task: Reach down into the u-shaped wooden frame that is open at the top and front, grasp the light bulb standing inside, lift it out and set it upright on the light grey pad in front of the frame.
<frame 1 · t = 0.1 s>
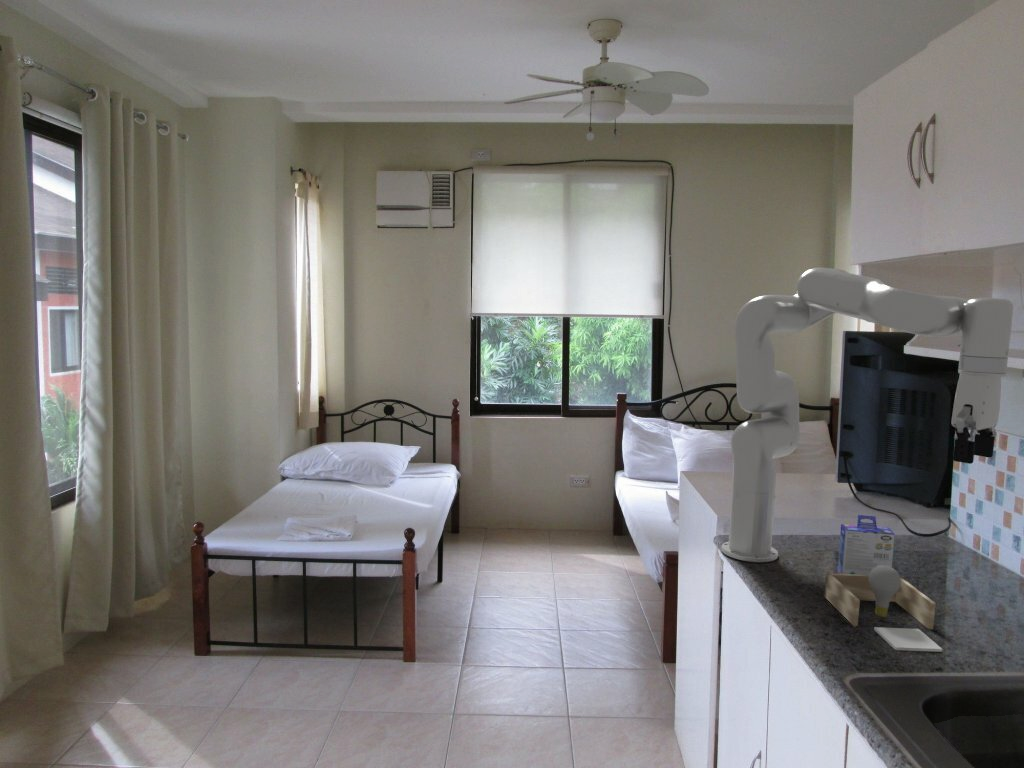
hand: (972, 459, 143), 31 cm above the worktop, tool pointing down, fingers open, 9 cm apart
grey pad: (907, 640, 137), on the worktop
light bulb: (880, 618, 147), on the worktop
u-shaped wooden frame: (876, 612, 149), on the worktop
ink cartridge box: (862, 585, 164), on the worktop
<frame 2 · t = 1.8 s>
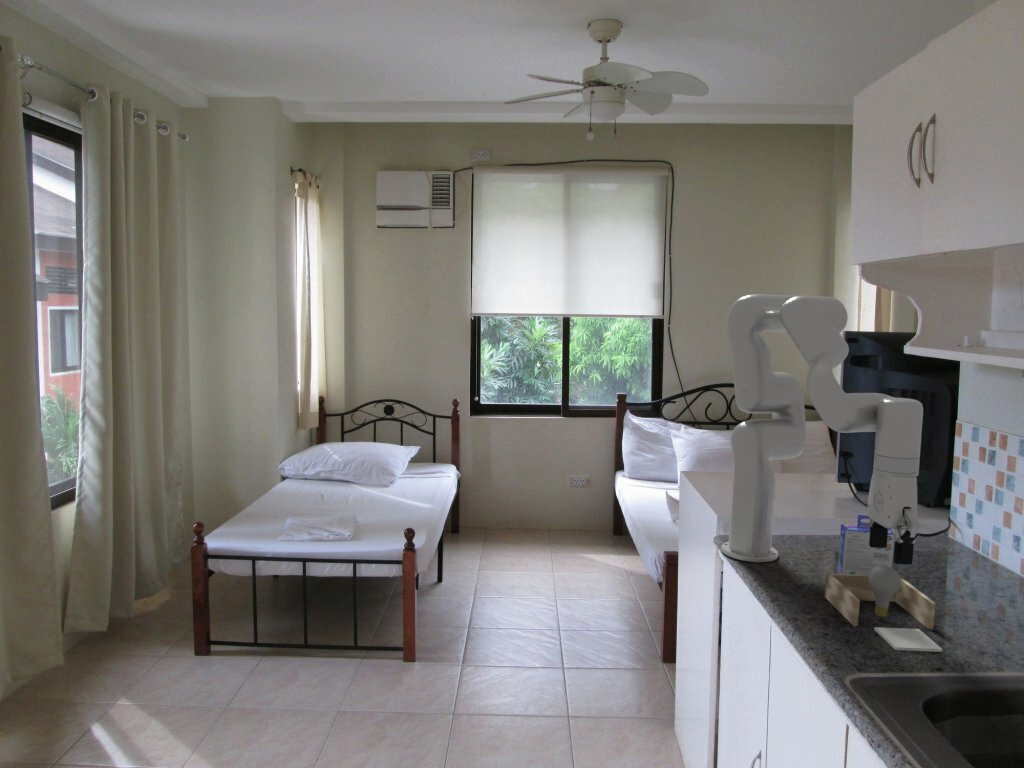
hand: (889, 555, 145), 12 cm above the worktop, tool pointing down, fingers open, 9 cm apart
nothing on the worktop moved.
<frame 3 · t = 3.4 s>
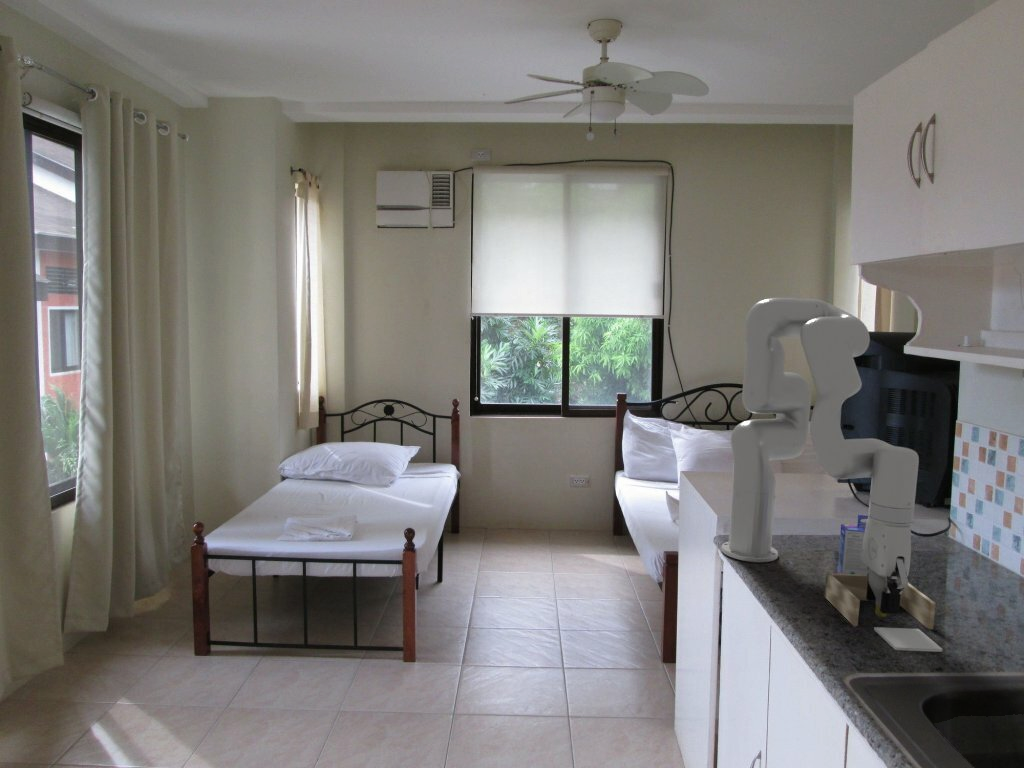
hand: (882, 605, 147), 2 cm above the worktop, tool pointing down, fingers closed on light bulb, 5 cm apart
light bulb: (880, 618, 147), on the worktop, touching gripper
everything else where it was.
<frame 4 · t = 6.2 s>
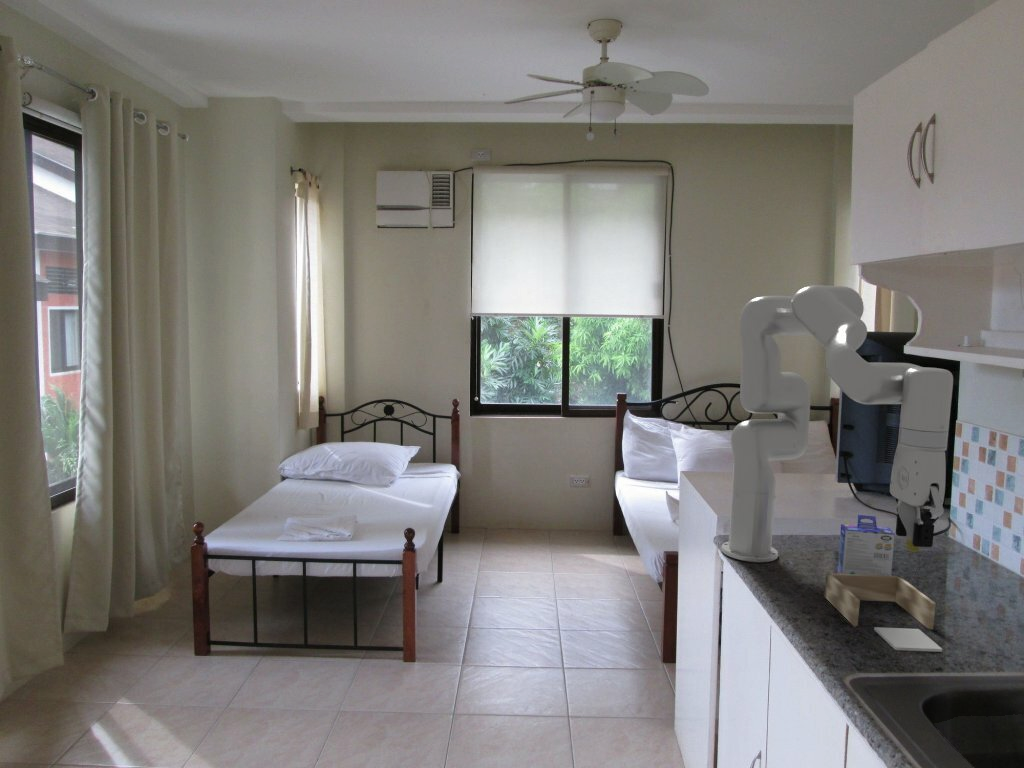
hand: (913, 539, 136), 18 cm above the worktop, tool pointing down, fingers closed on light bulb, 5 cm apart
light bulb: (912, 553, 137), point 15 cm above the worktop, touching gripper
everything else where it was.
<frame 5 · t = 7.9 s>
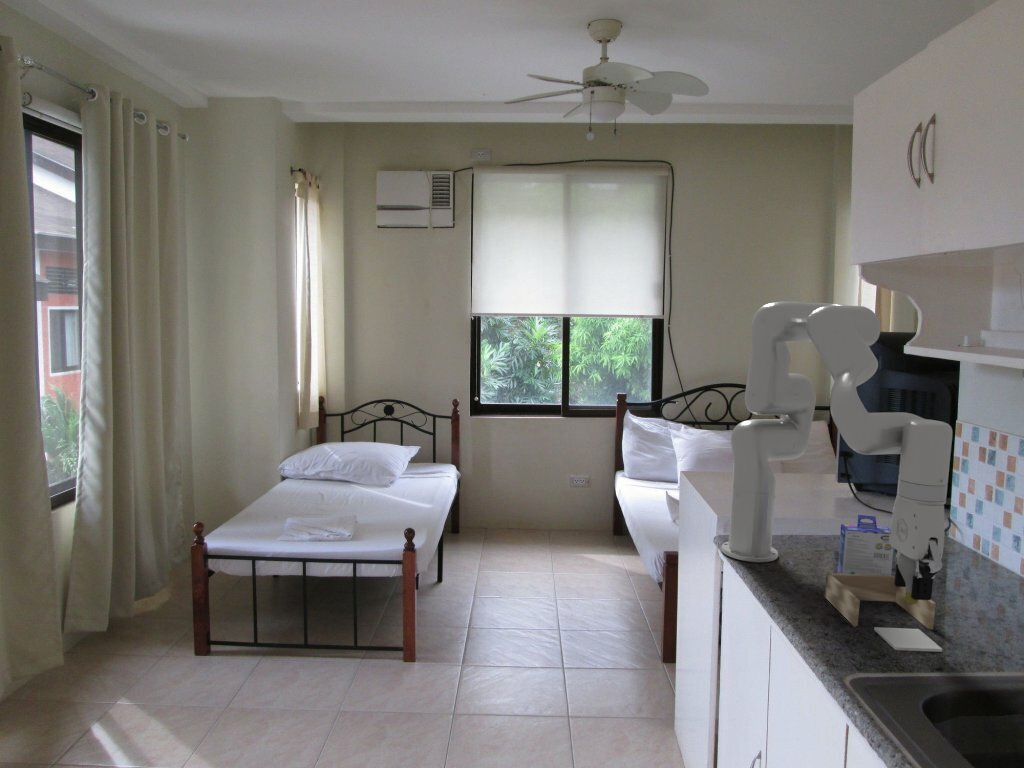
hand: (912, 591, 136), 9 cm above the worktop, tool pointing down, fingers closed on light bulb, 5 cm apart
light bulb: (911, 605, 136), point 7 cm above the worktop, touching gripper
everything else where it was.
when the fingers open (4 cm above the worktop, at t = 9.2 s): light bulb drops 1 cm, resting on grey pad.
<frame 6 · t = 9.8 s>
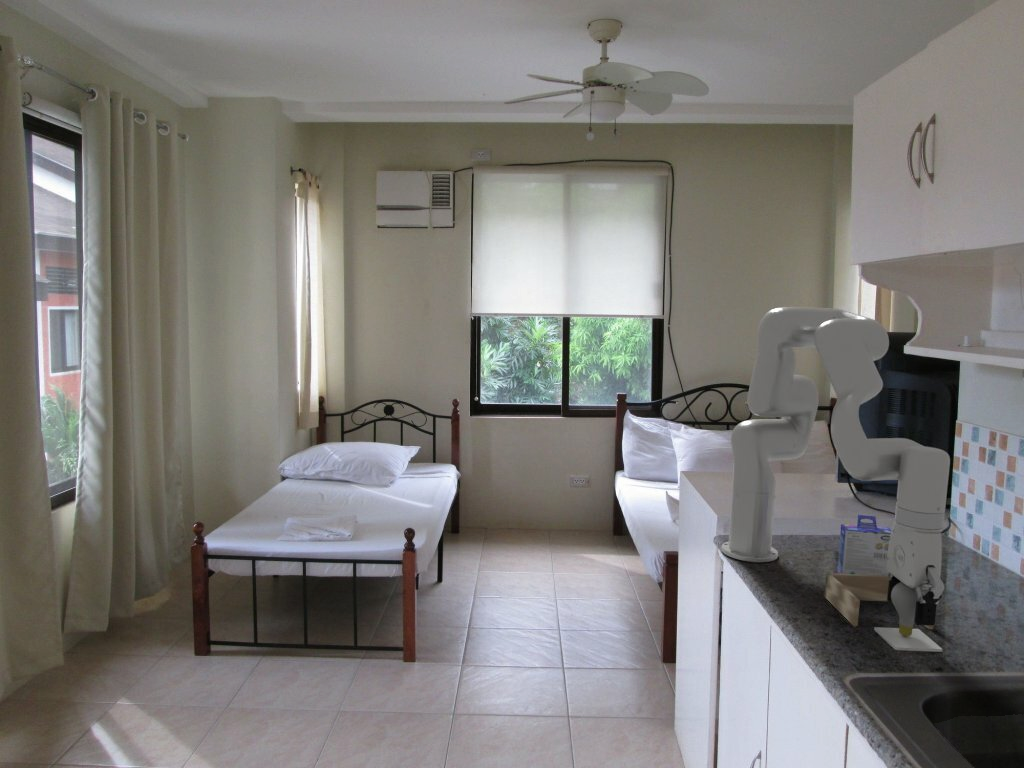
hand: (909, 612, 136), 5 cm above the worktop, tool pointing down, fingers open, 9 cm apart
light bulb: (905, 637, 138), resting on grey pad
everything else where it was.
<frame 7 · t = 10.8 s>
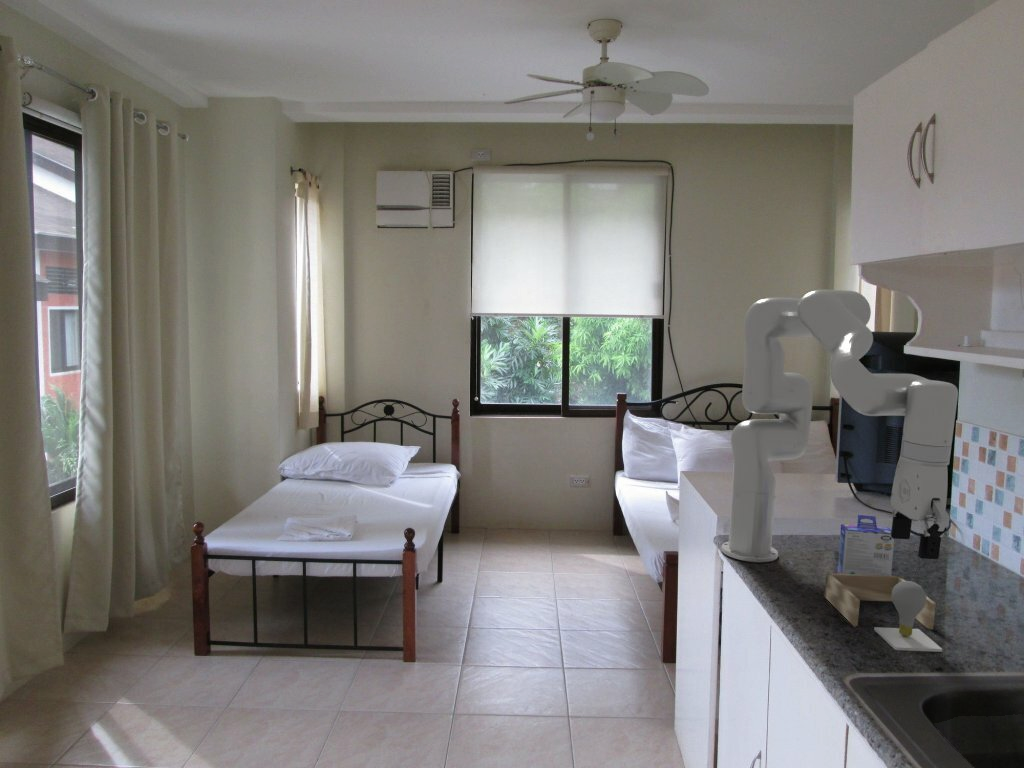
hand: (913, 548, 136), 17 cm above the worktop, tool pointing down, fingers open, 9 cm apart
nothing on the worktop moved.
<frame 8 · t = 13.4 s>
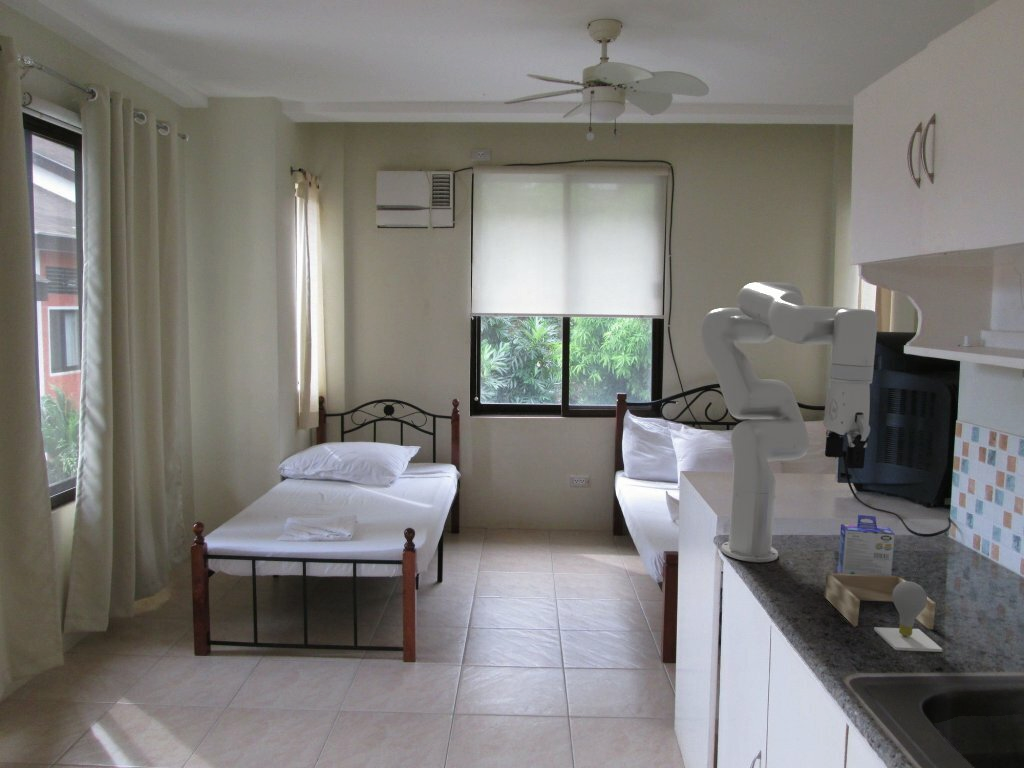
hand: (843, 462, 150), 28 cm above the worktop, tool pointing down, fingers open, 9 cm apart
nothing on the worktop moved.
at the end: light bulb 0.6 cm off-centre on the grey pad, point 0.3 cm above the grey pad's base; light bulb tilted 1°; the gripper is holding nothing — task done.
